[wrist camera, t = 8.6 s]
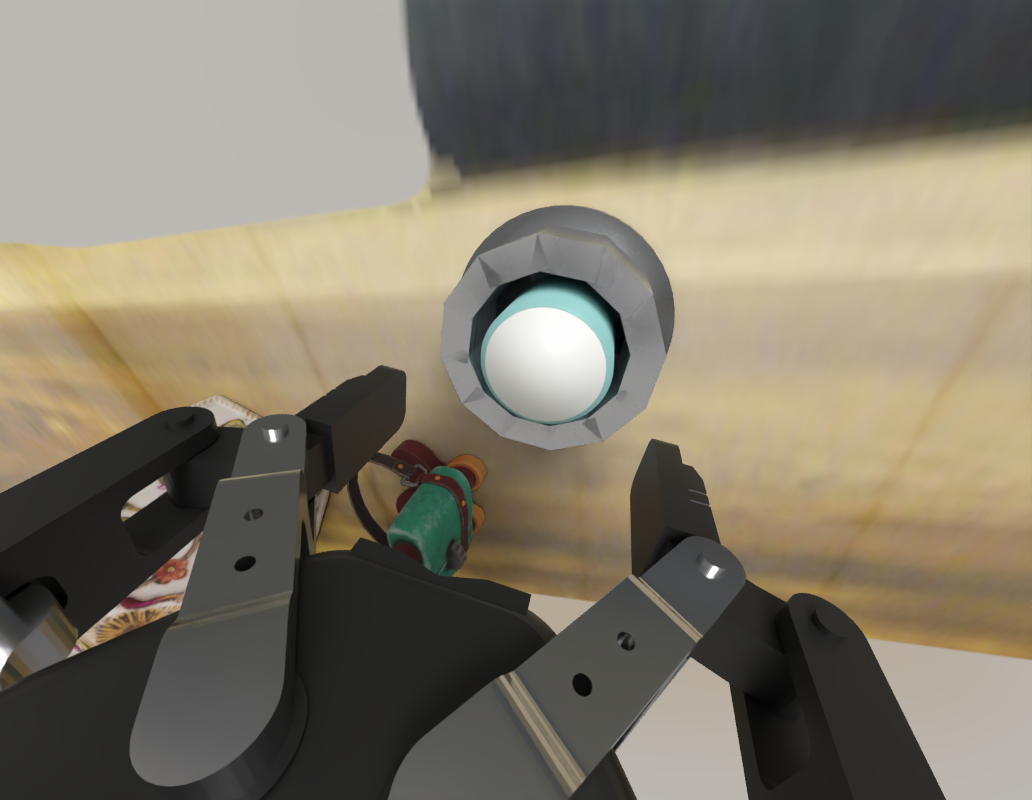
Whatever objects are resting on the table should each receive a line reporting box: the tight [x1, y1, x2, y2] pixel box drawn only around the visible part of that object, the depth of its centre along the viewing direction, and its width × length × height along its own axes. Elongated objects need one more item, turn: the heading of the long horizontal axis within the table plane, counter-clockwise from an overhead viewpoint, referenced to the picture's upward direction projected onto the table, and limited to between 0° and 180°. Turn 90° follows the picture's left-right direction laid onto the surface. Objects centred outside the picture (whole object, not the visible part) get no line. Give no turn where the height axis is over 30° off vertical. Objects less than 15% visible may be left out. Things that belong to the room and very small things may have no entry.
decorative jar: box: [67, 395, 330, 658], centre depth 27 cm, size 12×12×18 cm
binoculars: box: [347, 440, 486, 577], centre depth 26 cm, size 9×11×10 cm
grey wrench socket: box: [440, 205, 675, 450], centre depth 20 cm, size 12×12×5 cm
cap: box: [481, 274, 615, 424], centre depth 19 cm, size 6×6×6 cm
